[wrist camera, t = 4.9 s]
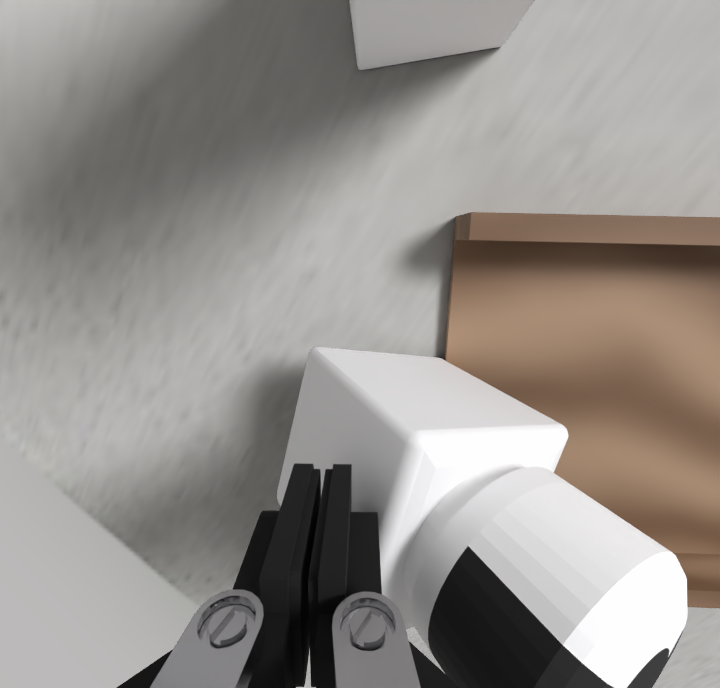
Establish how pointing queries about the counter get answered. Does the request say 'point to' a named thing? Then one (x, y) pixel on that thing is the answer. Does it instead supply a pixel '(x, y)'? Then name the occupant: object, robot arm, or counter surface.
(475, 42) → the milk
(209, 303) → the counter surface
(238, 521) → the counter surface
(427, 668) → the robot arm
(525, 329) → the walnut tray
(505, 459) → the medicine bottle
